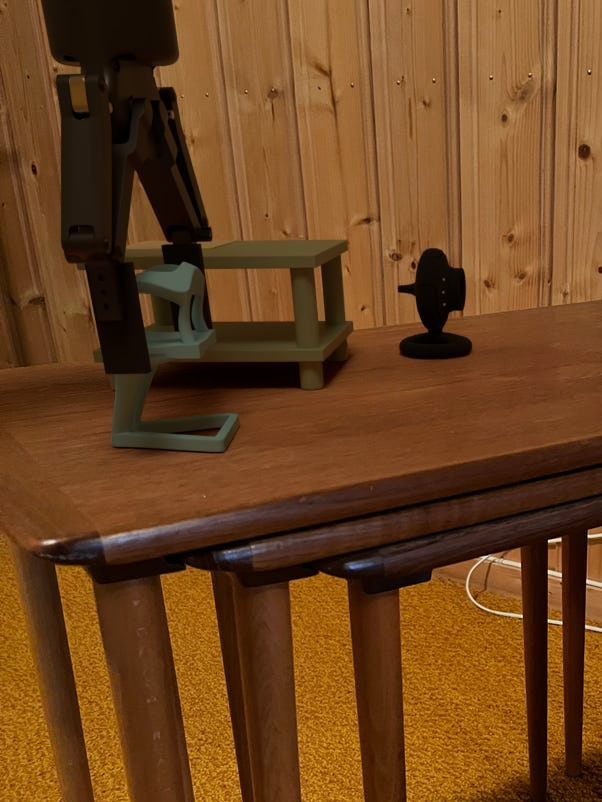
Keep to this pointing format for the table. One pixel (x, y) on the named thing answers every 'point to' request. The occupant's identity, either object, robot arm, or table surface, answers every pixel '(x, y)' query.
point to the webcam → (436, 307)
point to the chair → (163, 348)
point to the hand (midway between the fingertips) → (164, 353)
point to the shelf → (267, 338)
